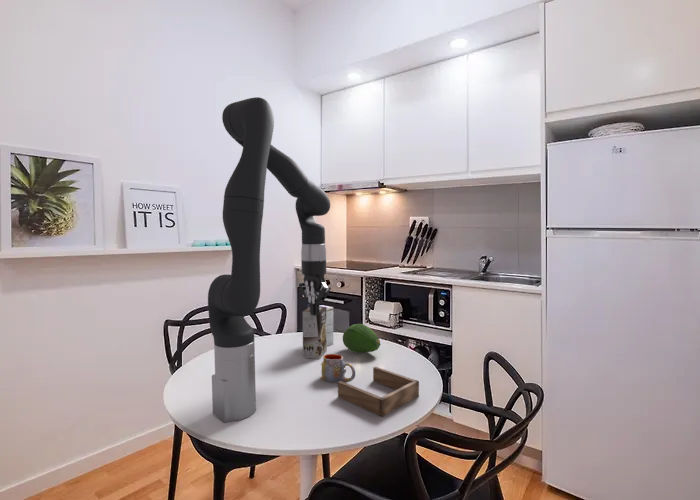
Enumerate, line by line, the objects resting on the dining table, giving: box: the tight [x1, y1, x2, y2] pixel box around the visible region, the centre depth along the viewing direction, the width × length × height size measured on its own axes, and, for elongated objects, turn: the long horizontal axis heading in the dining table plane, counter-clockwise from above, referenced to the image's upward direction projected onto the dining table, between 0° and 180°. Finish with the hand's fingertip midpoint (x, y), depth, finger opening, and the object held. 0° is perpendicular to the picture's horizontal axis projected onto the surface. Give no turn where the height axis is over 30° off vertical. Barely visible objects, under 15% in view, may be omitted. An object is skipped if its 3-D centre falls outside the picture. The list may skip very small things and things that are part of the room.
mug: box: [320, 353, 356, 383], centre depth 110 cm, size 12×7×7 cm, turn 46°
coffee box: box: [302, 306, 328, 360], centre depth 132 cm, size 9×6×16 cm
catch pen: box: [337, 366, 420, 417], centre depth 99 cm, size 15×15×4 cm
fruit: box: [342, 323, 381, 354], centre depth 133 cm, size 15×10×10 cm, turn 41°
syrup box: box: [319, 304, 334, 347], centre depth 143 cm, size 6×6×14 cm
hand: (314, 314), depth 116 cm, fingers closed
